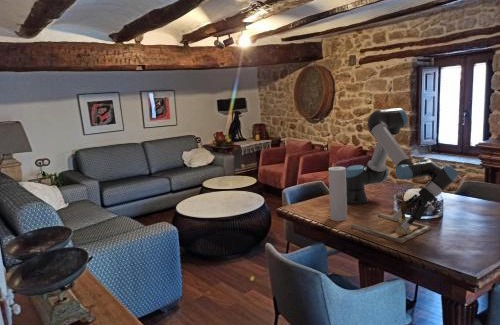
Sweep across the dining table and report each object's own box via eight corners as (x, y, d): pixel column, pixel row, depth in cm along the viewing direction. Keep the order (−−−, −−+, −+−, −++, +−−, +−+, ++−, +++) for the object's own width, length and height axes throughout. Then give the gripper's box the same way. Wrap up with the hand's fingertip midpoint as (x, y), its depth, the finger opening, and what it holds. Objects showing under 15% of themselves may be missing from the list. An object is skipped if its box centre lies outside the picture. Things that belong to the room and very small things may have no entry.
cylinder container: (347, 220, 206) (346, 169, 200) (330, 221, 208) (328, 169, 202) (346, 215, 215) (345, 165, 209) (330, 215, 217) (328, 166, 211)
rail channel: (379, 215, 210) (379, 213, 210) (430, 229, 185) (430, 226, 185) (351, 226, 197) (351, 224, 196) (401, 243, 172) (401, 240, 172)
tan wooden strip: (411, 225, 192) (411, 224, 192) (419, 227, 188) (419, 226, 188) (387, 236, 180) (387, 236, 180) (394, 239, 177) (394, 238, 177)
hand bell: (391, 230, 187) (390, 200, 184) (403, 227, 190) (403, 197, 187) (403, 235, 179) (403, 204, 176) (416, 232, 182) (416, 201, 179)
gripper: (447, 204, 168) (413, 237, 172) (425, 190, 192) (395, 219, 196) (435, 194, 167) (401, 227, 171) (415, 181, 191) (385, 210, 195)
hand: (398, 222), depth 184 cm, fingers open, 12 cm apart
